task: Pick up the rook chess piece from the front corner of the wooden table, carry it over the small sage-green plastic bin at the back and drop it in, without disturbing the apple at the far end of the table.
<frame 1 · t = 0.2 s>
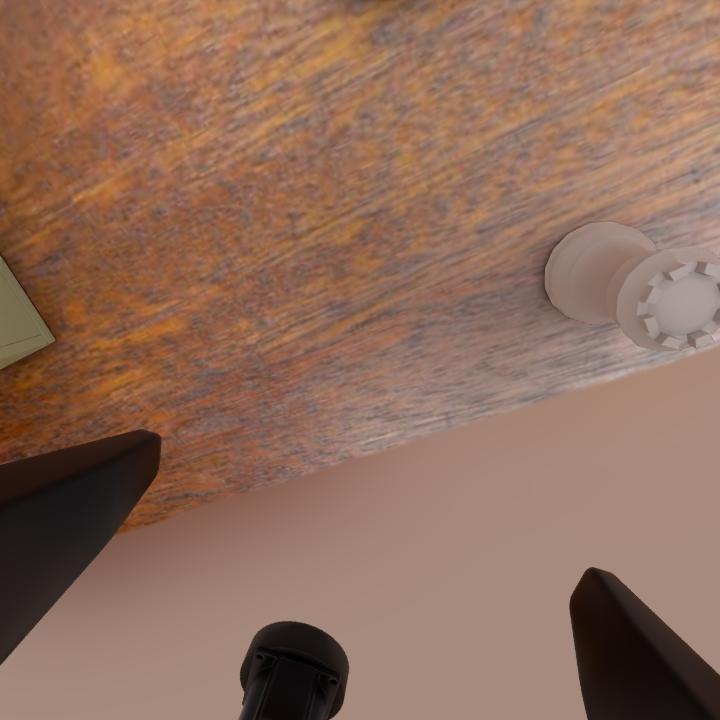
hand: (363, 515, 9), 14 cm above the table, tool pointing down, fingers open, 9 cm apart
rook chess piece: (591, 271, 20), on the table
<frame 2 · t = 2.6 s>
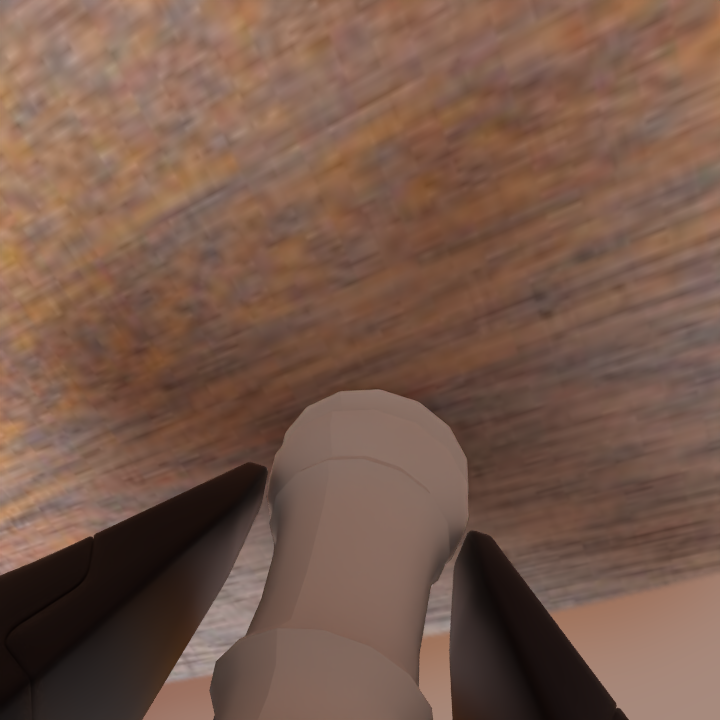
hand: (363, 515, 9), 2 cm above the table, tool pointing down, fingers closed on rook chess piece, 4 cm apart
rook chess piece: (374, 461, 11), on the table, touching gripper
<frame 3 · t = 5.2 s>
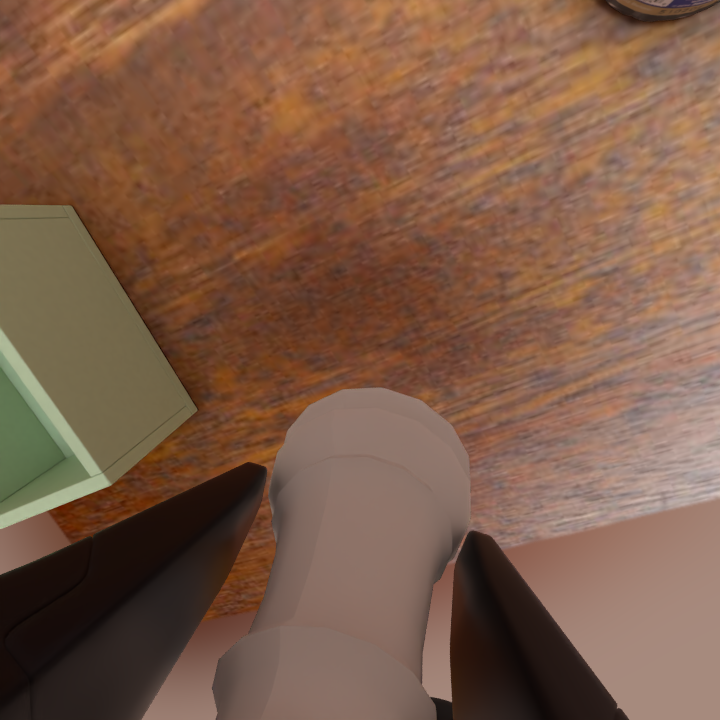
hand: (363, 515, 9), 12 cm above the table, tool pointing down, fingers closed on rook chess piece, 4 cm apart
bin: (72, 349, 22), on the table
rook chess piece: (376, 460, 11), point 10 cm above the table, touching gripper
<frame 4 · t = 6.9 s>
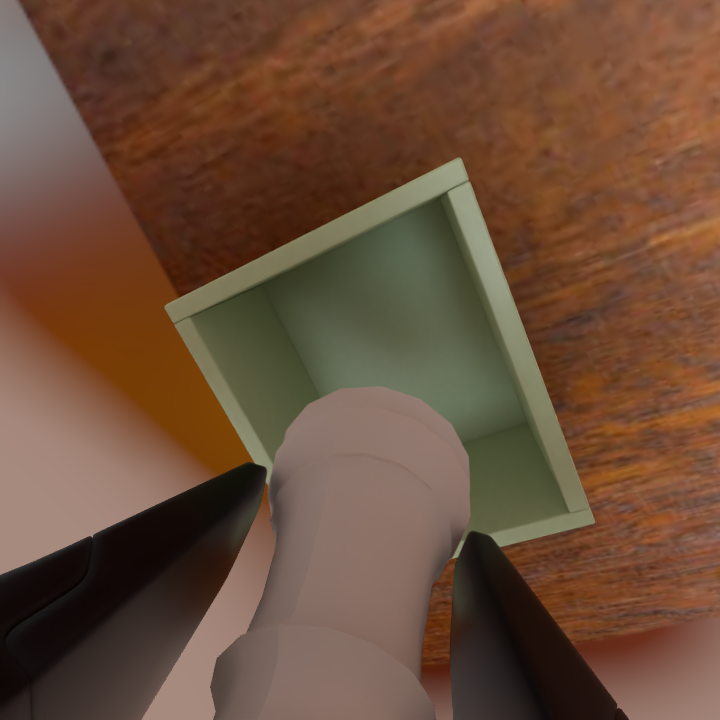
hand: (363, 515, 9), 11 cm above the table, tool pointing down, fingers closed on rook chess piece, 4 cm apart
bin: (396, 349, 19), on the table
rook chess piece: (375, 459, 11), point 9 cm above the table, touching gripper
when the fingers open (8 cm above the table, at t = 8.2 s): rook chess piece drops 5 cm, point 1 cm above the table.
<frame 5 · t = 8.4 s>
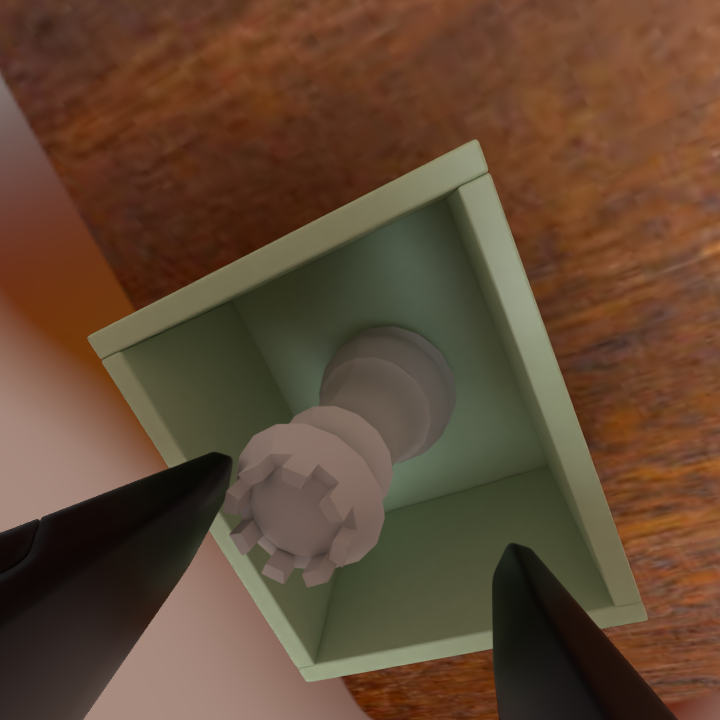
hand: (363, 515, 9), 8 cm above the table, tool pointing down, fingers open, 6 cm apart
bin: (392, 377, 16), on the table
rook chess piece: (394, 384, 15), point 1 cm above the table, touching gripper
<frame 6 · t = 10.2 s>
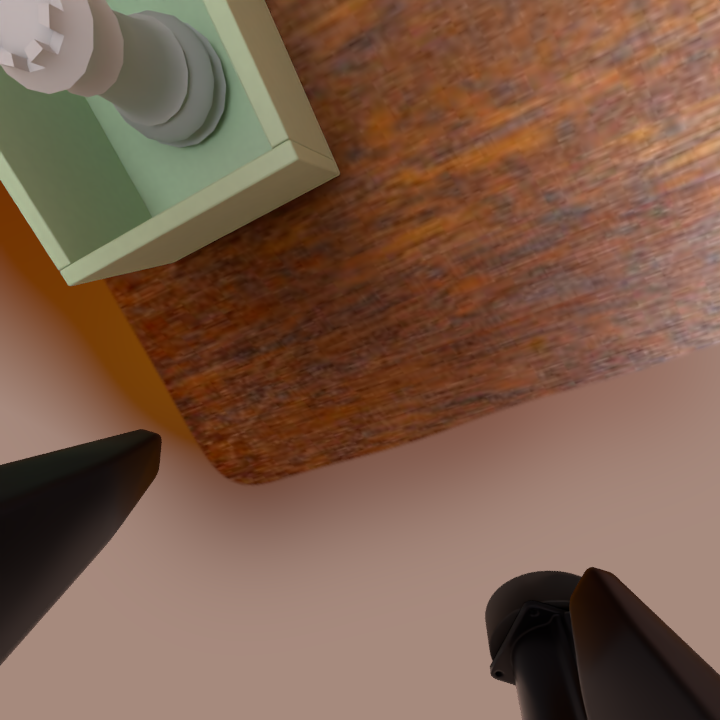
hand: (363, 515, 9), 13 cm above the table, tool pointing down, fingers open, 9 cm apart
bin: (188, 95, 18), on the table
rook chess piece: (182, 90, 18), resting on bin
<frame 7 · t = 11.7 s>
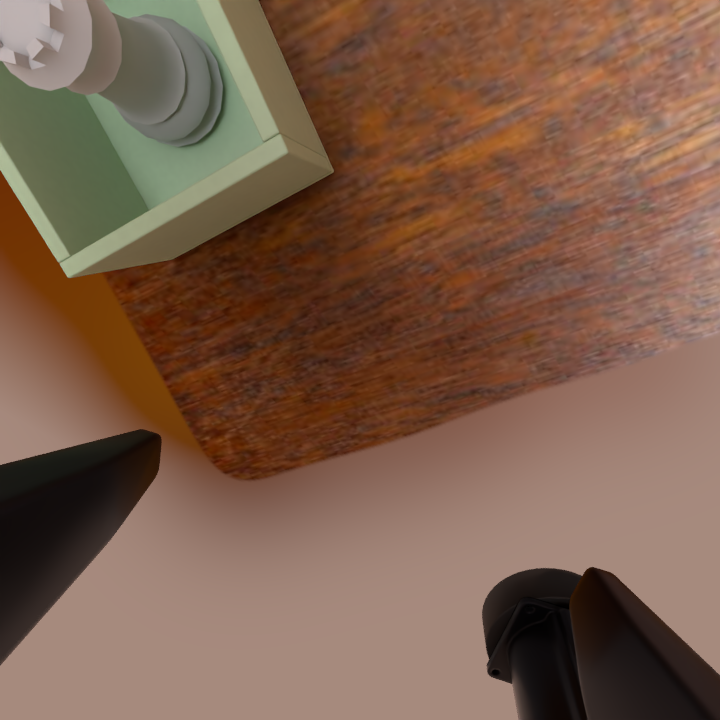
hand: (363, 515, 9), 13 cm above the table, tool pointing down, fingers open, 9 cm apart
bin: (187, 97, 19), on the table
rook chess piece: (180, 91, 18), resting on bin
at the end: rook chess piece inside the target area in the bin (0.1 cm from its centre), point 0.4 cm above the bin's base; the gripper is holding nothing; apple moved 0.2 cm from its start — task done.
